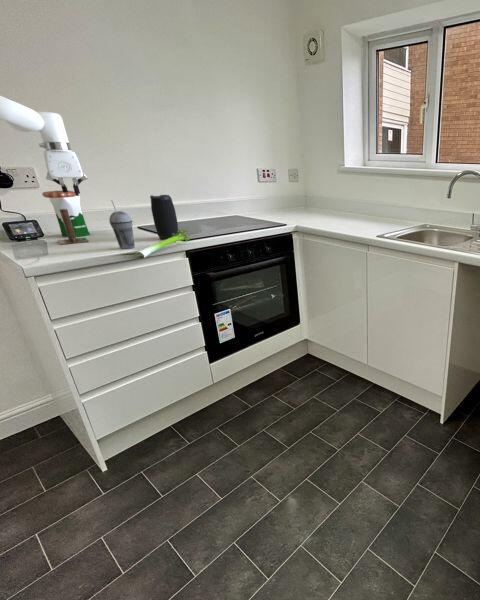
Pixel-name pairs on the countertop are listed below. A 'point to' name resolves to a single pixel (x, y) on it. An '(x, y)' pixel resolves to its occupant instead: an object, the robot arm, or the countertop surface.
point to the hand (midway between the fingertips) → (72, 195)
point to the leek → (164, 243)
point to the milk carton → (70, 215)
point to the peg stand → (69, 230)
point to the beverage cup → (122, 229)
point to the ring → (58, 194)
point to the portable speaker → (164, 216)
